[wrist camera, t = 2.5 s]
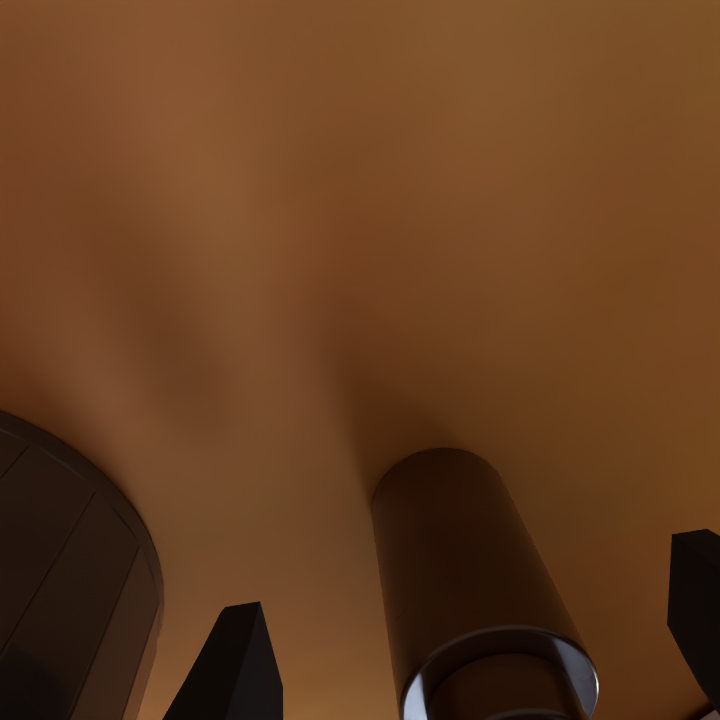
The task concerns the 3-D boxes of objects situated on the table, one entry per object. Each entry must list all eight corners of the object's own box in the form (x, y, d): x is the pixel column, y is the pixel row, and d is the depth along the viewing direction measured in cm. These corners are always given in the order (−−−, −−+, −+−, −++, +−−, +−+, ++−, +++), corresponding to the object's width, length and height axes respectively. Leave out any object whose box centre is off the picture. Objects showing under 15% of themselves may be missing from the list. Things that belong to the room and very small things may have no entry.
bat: (532, 504, 14) (811, 1012, 6) (433, 583, 15) (569, 1135, 7) (445, 420, 13) (639, 894, 5) (342, 509, 14) (379, 1048, 6)
